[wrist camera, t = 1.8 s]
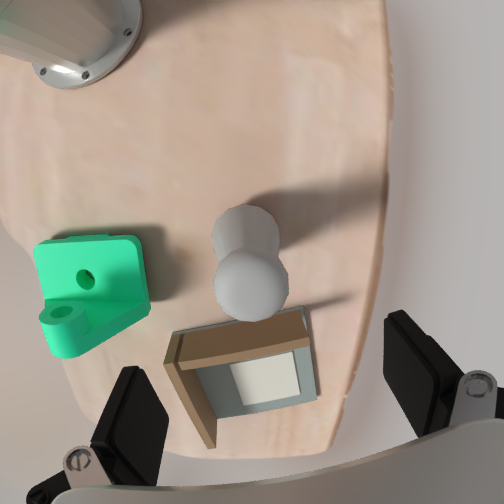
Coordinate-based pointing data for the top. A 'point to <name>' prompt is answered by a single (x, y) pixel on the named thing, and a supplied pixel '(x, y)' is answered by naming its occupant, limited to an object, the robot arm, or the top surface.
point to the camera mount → (90, 290)
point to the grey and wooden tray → (241, 368)
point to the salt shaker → (248, 264)
